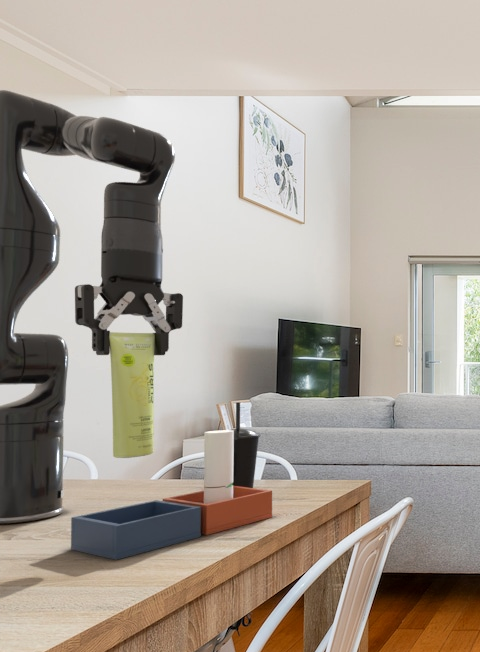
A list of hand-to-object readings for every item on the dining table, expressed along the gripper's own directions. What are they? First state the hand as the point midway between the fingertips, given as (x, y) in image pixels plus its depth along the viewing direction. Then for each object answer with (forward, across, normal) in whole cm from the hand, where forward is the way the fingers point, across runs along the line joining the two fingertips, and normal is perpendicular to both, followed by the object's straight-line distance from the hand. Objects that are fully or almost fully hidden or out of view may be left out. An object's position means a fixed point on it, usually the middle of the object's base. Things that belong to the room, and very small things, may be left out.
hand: (131, 355), depth 91 cm
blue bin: (+29, 0, +2) cm, 29 cm away
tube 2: (+29, -12, +2) cm, 31 cm away
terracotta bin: (+29, -12, +2) cm, 32 cm away
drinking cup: (+29, -22, -7) cm, 37 cm away
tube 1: (+16, 0, 0) cm, 16 cm away
